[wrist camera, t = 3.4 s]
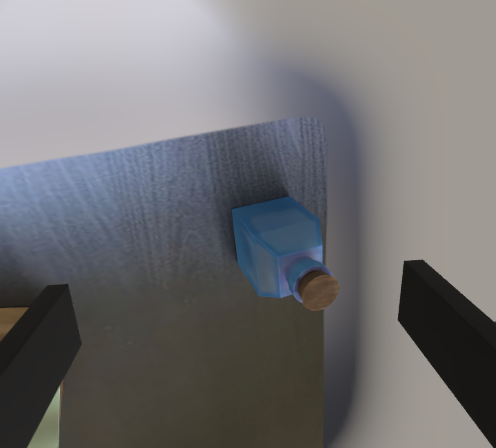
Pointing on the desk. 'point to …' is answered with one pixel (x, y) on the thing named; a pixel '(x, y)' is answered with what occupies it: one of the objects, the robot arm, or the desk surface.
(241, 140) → the desk surface
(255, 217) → the perfume bottle
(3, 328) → the pale green square pedestal
